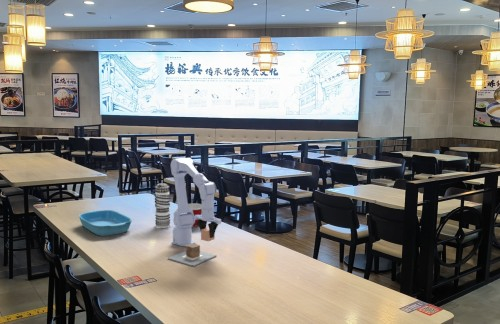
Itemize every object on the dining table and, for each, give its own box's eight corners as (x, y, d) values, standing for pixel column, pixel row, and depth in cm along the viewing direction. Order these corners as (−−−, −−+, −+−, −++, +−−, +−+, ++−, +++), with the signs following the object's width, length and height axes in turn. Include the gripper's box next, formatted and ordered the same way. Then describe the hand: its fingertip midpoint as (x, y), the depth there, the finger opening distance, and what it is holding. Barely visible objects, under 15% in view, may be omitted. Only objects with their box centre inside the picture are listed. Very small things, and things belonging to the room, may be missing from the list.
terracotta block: (201, 239, 200) (201, 229, 199) (207, 237, 204) (207, 227, 203) (208, 241, 198) (208, 231, 197) (214, 239, 201) (214, 228, 201)
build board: (167, 259, 196) (167, 257, 196) (191, 249, 209) (191, 248, 209) (193, 266, 187) (193, 265, 187) (216, 256, 201) (216, 254, 200)
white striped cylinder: (155, 228, 244) (154, 185, 241) (154, 224, 253) (153, 182, 249) (171, 227, 246) (170, 185, 243) (170, 223, 255) (169, 182, 252)
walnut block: (186, 255, 199) (186, 245, 198) (193, 253, 202) (193, 243, 201) (192, 258, 196) (192, 247, 195) (199, 255, 199) (199, 245, 198)
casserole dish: (138, 232, 237) (138, 220, 236) (99, 240, 222) (98, 227, 221) (110, 219, 264) (110, 207, 263) (73, 225, 249) (73, 213, 248)
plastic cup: (186, 228, 245) (186, 208, 243) (184, 223, 255) (184, 204, 254) (205, 227, 248) (205, 207, 246) (202, 222, 258) (202, 203, 257)
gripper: (225, 208, 198) (225, 237, 200) (201, 204, 206) (201, 231, 208) (215, 211, 192) (215, 240, 194) (191, 207, 200) (191, 235, 202)
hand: (207, 236), depth 201 cm, fingers closed on terracotta block, 4 cm apart
